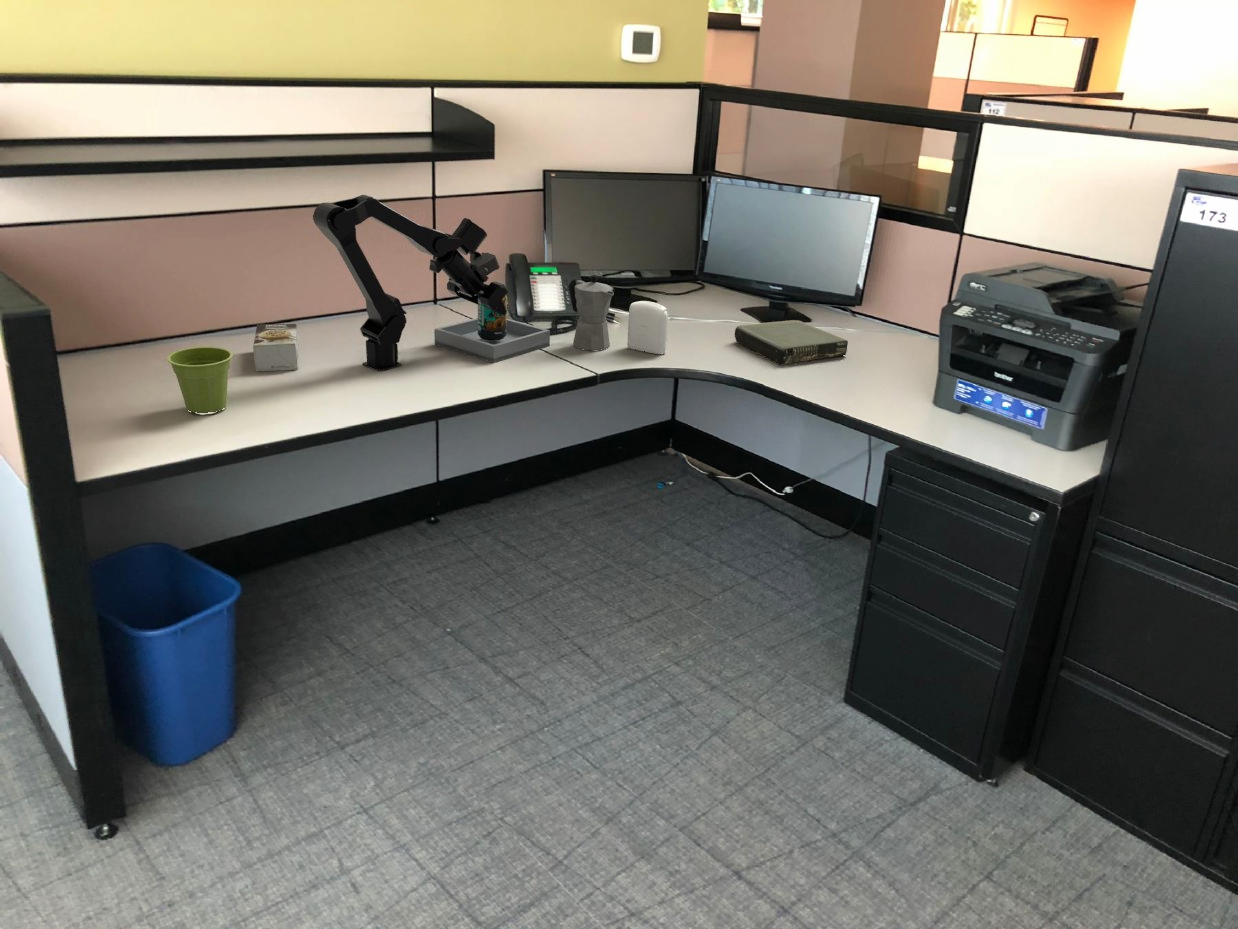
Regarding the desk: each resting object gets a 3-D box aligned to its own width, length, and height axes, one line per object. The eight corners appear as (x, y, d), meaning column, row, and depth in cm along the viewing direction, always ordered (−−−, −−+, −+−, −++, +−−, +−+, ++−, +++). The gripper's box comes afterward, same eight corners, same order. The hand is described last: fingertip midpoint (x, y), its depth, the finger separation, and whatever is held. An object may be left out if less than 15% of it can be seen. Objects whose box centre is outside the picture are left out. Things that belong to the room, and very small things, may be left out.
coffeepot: (623, 348, 254) (627, 277, 247) (596, 355, 248) (599, 282, 240) (581, 334, 264) (583, 265, 256) (554, 340, 257) (556, 270, 250)
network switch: (788, 370, 246) (790, 350, 244) (724, 345, 263) (725, 326, 261) (853, 357, 259) (856, 338, 257) (788, 333, 276) (790, 316, 274)
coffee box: (252, 344, 221) (255, 323, 235) (255, 372, 223) (258, 350, 237) (296, 342, 223) (296, 322, 237) (298, 370, 226) (298, 348, 240)
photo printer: (624, 348, 254) (626, 300, 249) (632, 344, 258) (635, 296, 253) (660, 356, 250) (663, 307, 245) (668, 352, 253) (672, 304, 248)
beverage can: (505, 341, 247) (506, 293, 242) (476, 340, 246) (477, 292, 242) (506, 333, 253) (507, 286, 249) (478, 332, 253) (478, 285, 248)
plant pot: (164, 407, 201) (156, 353, 196) (222, 395, 209) (216, 343, 204) (189, 425, 193) (182, 368, 189) (248, 412, 201) (243, 357, 197)
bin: (493, 362, 238) (493, 346, 236) (434, 344, 249) (434, 328, 247) (549, 345, 253) (550, 330, 251) (491, 329, 264) (491, 314, 262)
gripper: (502, 250, 232) (539, 292, 243) (457, 236, 245) (494, 276, 256) (473, 288, 230) (511, 328, 241) (429, 271, 243) (467, 311, 254)
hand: (496, 309), depth 248 cm, fingers closed on beverage can, 7 cm apart
